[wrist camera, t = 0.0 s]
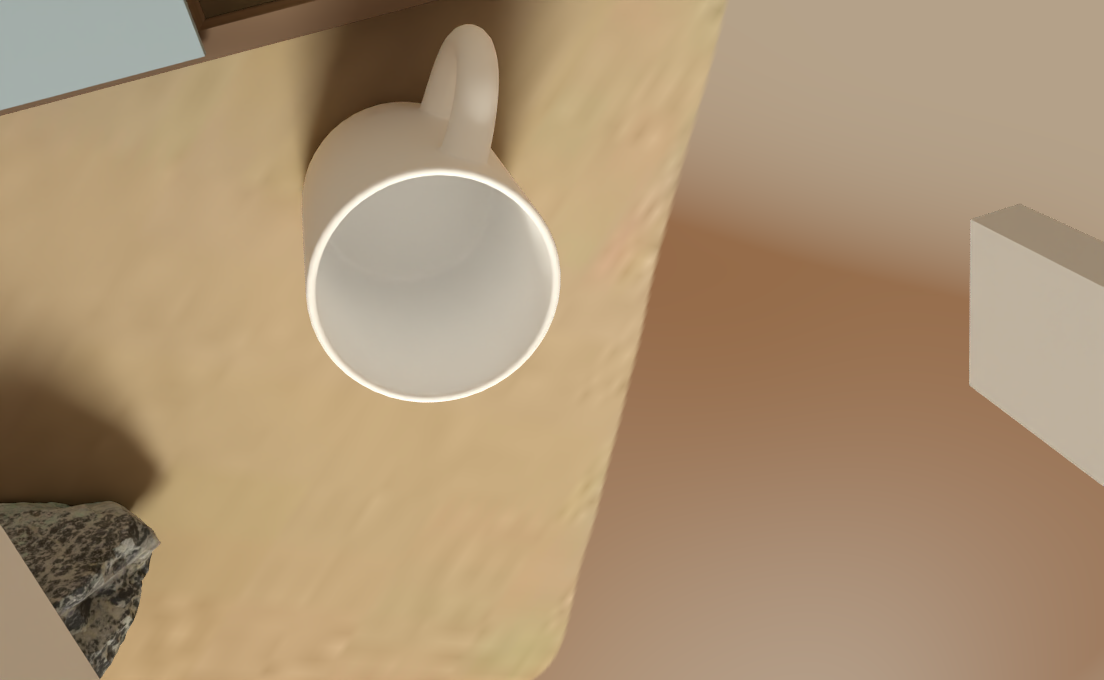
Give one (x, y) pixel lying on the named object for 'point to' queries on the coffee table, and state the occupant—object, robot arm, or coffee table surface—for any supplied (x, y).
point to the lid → (88, 43)
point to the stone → (85, 567)
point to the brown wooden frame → (257, 30)
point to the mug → (427, 240)
